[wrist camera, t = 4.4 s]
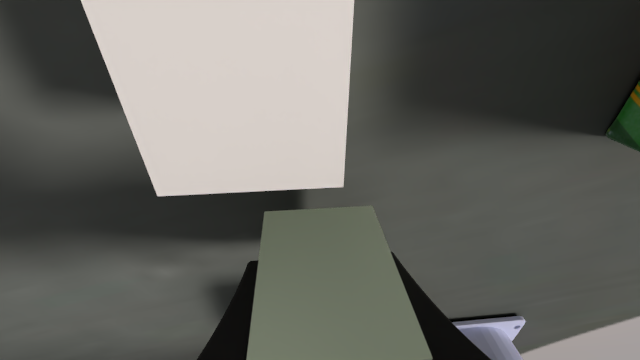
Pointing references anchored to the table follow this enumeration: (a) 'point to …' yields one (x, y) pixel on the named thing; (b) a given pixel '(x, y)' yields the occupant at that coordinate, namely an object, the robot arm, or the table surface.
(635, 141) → the chalk box
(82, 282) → the table surface
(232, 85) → the off-white block
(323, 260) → the sage green block
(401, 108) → the table surface
